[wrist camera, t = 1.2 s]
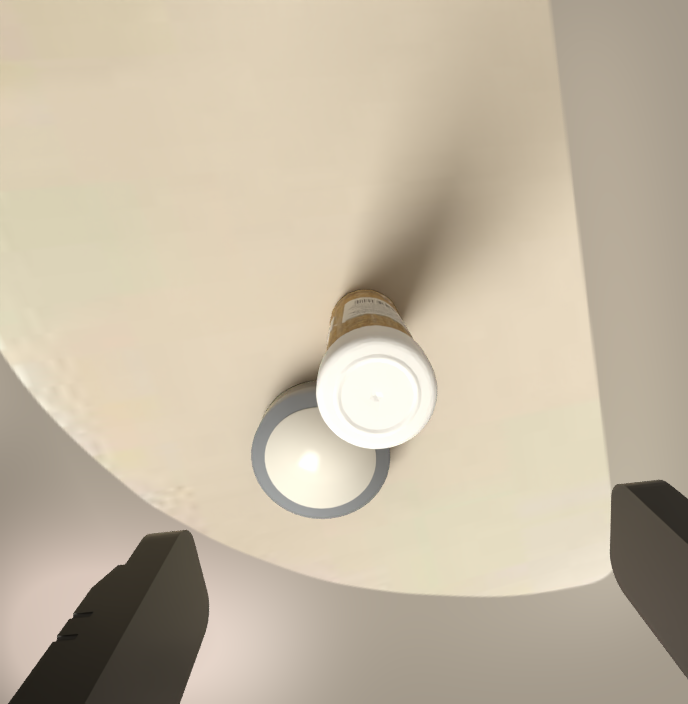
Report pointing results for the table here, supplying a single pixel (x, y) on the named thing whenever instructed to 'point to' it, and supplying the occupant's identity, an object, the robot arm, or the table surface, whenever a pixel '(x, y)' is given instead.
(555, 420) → the table surface
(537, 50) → the table surface
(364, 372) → the sprinkles bottle
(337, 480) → the stand
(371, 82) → the table surface
